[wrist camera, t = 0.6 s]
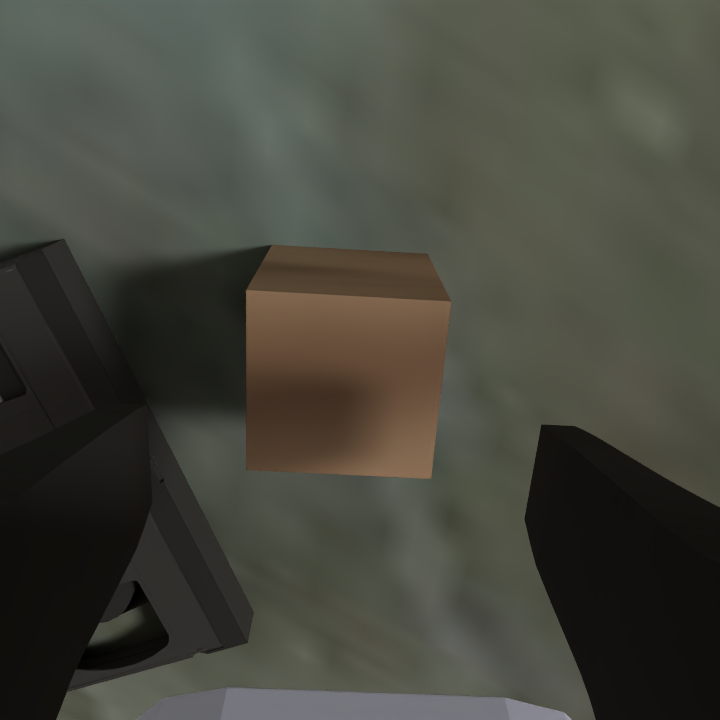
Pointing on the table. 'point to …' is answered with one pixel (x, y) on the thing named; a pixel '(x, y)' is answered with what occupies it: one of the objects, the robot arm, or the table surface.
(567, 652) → the table surface
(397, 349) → the walnut block
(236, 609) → the vhs tape
